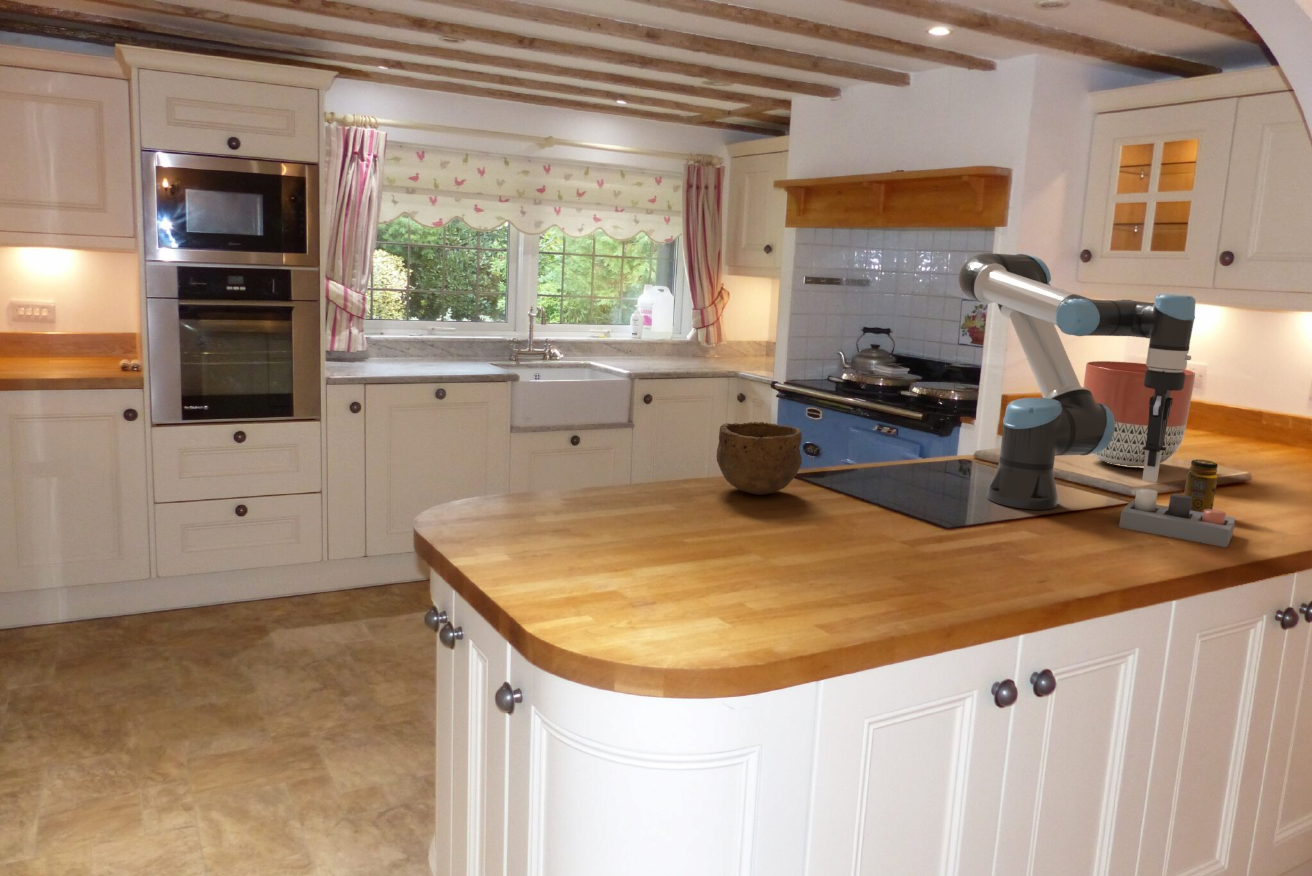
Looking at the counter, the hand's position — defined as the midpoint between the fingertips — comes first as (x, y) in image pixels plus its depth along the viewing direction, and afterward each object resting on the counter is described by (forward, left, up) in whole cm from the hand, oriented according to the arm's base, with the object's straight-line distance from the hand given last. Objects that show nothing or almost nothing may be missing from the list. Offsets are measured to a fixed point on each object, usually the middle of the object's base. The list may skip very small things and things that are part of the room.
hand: (1149, 480), depth 213 cm
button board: (+6, 0, -10) cm, 12 cm away
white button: (0, 0, -6) cm, 6 cm away
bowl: (-74, -37, -10) cm, 83 cm away
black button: (+6, 0, -6) cm, 9 cm away
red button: (+13, 0, -8) cm, 15 cm away
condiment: (+7, +20, -10) cm, 24 cm away
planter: (-15, +65, -10) cm, 68 cm away
